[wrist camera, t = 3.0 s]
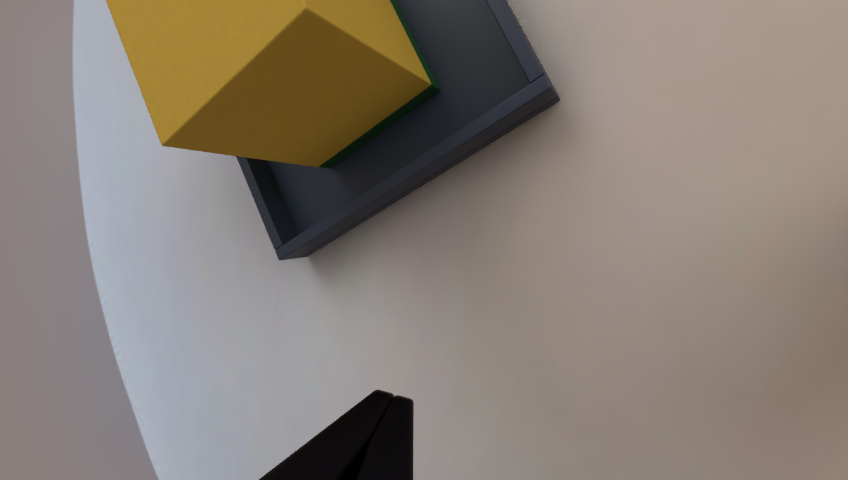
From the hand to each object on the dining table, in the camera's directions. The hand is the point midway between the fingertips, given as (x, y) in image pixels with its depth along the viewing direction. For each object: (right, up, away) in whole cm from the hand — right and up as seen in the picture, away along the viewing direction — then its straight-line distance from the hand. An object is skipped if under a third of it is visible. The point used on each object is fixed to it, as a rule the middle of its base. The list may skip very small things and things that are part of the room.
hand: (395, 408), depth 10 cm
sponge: (-3, +12, +12) cm, 18 cm away
